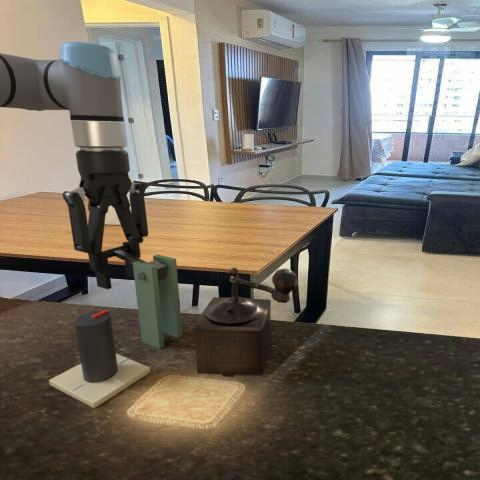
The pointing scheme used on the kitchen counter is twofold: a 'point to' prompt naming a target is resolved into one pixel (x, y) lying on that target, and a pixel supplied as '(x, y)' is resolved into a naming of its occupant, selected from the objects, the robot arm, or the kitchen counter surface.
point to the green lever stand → (157, 301)
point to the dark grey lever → (136, 259)
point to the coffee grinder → (239, 328)
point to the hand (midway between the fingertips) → (119, 281)
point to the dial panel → (99, 391)
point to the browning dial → (96, 346)
